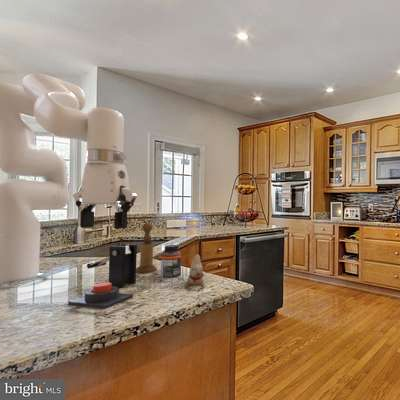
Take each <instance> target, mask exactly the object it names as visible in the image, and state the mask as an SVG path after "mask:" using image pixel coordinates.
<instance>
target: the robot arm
mask: <svg viewBox="0 0 400 400" xmlns="http://www.w3.org/2000/svg"><path fill="white" fill-rule="evenodd" d="M86 103H87V97H86V94H85V92H84V90H83V89H82V88H81V87H80V86H78V85H76V84H74V83H72V82H69V81H66V80H63V79H60V78H57V77H55V76H51V75H49V74H45V73H41V72H32V73H28V74H26V75H25V76H24V77H23V78H22V81H21V85H18V84H14V83H9V82H0V170H1V172H3V173H5V174H8V175H11V176H21V177H32V178H43V180H39V179H31V178H30V179H28V178H6V179H2V180H0V284H4V283H10V282H19V281H25V280H31V279H34V278H37V277H39V276H40V275H42V273H40V259H41V258H40V256H41V255H40V254H41V221H40V220H39V219H38V218H37V217H36V215H35V214H34V213H33V212H32V211H41V210H42V211H51V210H53V211H54V210H61V209H64V208H65V207H66V206H67V205H68V203H69V200H70V190H69V189H70V188H69V178H68V176H69V175H68V167H67V161H66V159H65V157H64V155H63V154H62V153H60V152H59V151H56V150H53V149H48V148H42V147H38V146H37V144H36V134H35V132H34V130H33V129H32V127H31V126H30V125H29V123H28V122H27V121H25V120H24V118H22V117H21V116H24V117H25V116H26V117H29V118H32V119H33V118H34V119H35V121H36V123H37V124H38V125H39V126H40V127H42V129H44V131H46V132H47V133H48V134H50V135H53V136H56V137H59V138H65V139H69V140H76V141H81V142H85V143H86V163H85V165H84V168H83V173H82V178H81V179H82V180H81V189H79V190H77V191H76V192H75V193H73V195H72V197H73V199H74V201H75V205H76V207H77V209H78V212H80V221H79V222H80V225H79V226H80V228H81V229H84V228H85V229H86V228H93V227H95V211H93V210H94V209H95V208H96V206H97V205H112V206H113V207H114V209H115V210H116V211H115V212H114V222H113V223H114V226H113V227H114V229H115V230H120V229H121V230H122V229H127V227H128V213H129V212H130V211H131V208H132V207H133V206H134V205H135V201H136V199H137V197H138V195H137V194H136V193H134V192H133V191H131V190H130V183H129V174H128V169H127V166H126V165H124V160H126V159H127V157H126V155H125V154H124V145H125V143H124V142H125V117H124V115H123V114H122V113H121V112H119V111H117V110H115V109H112V108H107V107H92V108H91V109H89V111H88V112H87V111H83V109H84V108H85V106H86Z"/></svg>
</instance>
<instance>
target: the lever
mask: <svg viewBox="0 0 400 400" xmlns="http://www.w3.org/2000/svg"><path fill="white" fill-rule="evenodd" d="M128 254H131V250H130V247H129V245H128V246H126V254H125V256H126V255H128ZM107 262H109V255H108V256H107V257H103V258H102V259H100V260H97V261H94V262H89V263H87V264H86V268H87V269H94V268H98V267H102V266H106V265H107Z"/></svg>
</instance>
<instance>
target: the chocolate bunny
mask: <svg viewBox="0 0 400 400" xmlns="http://www.w3.org/2000/svg"><path fill="white" fill-rule="evenodd" d="M204 276H205V274H204V268H203V265H202V262H201V256H200V254H195V256H194V258H193V259H192V261H191V263H190V268H189V275H188V277H187V279H186V284H188V285H190V286H200V285H202V284H203V283H204ZM202 288H203V287H200V288H198V289H197V290H202Z"/></svg>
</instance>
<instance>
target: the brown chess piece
mask: <svg viewBox="0 0 400 400" xmlns="http://www.w3.org/2000/svg"><path fill="white" fill-rule="evenodd" d="M142 230H143V231H144V232H143V233H144V235H143V241H144V242H140V252H139V253H140V255H139V258H140V259H139V266H137V267H136V274H148V273H149V274H150V273H153V272H157V271H158V267H156V265H154V242H153V241H151V239H152V235H151V234H150V233H151V231H153V224H152V223H151V222H145V223H143V225H142Z"/></svg>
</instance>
